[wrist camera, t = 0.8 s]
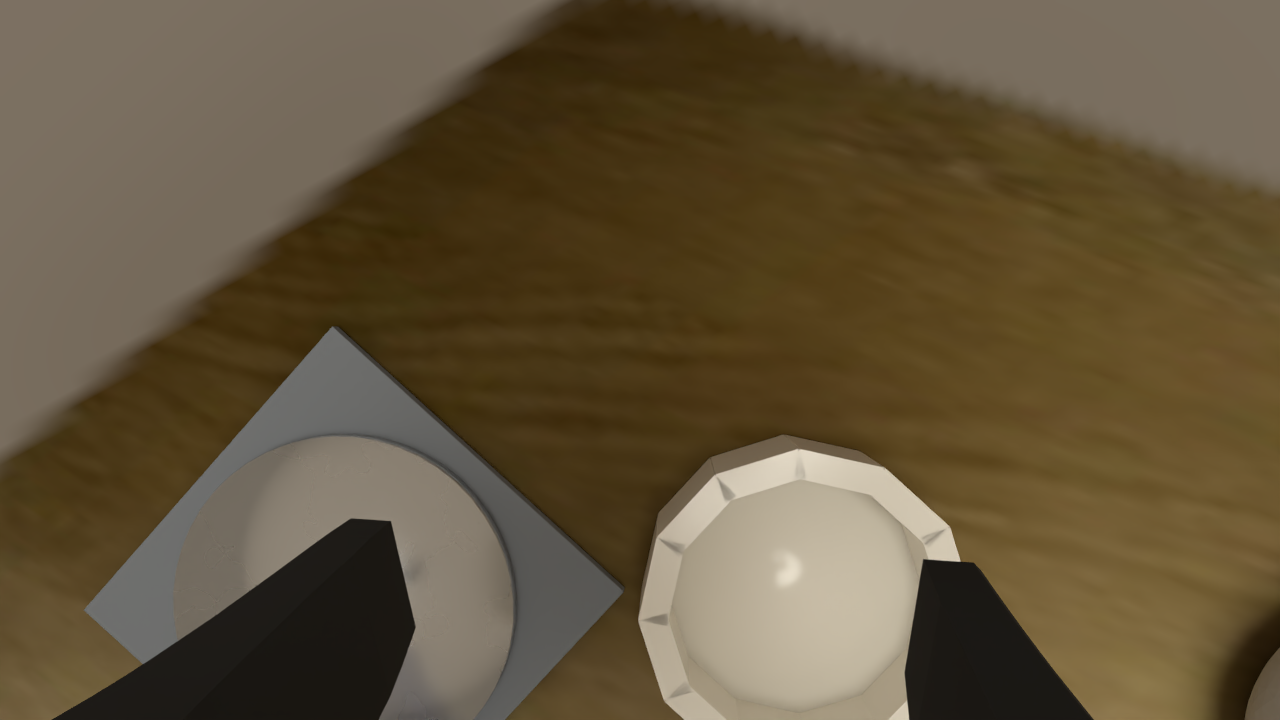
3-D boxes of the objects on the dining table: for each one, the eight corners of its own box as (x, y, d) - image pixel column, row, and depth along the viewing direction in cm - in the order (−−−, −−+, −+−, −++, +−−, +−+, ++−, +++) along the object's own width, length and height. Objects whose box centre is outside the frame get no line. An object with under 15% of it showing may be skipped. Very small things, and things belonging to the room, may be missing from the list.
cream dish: (797, 779, 31) (813, 837, 27) (588, 588, 31) (577, 622, 27) (995, 574, 30) (1038, 607, 27) (781, 380, 30) (796, 387, 27)
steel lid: (365, 831, 31) (316, 913, 27) (119, 608, 31) (30, 654, 27) (586, 592, 30) (572, 637, 26) (334, 363, 30) (278, 370, 26)
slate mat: (371, 859, 32) (367, 867, 31) (93, 605, 32) (83, 610, 31) (624, 587, 31) (623, 591, 30) (338, 326, 31) (332, 326, 30)
